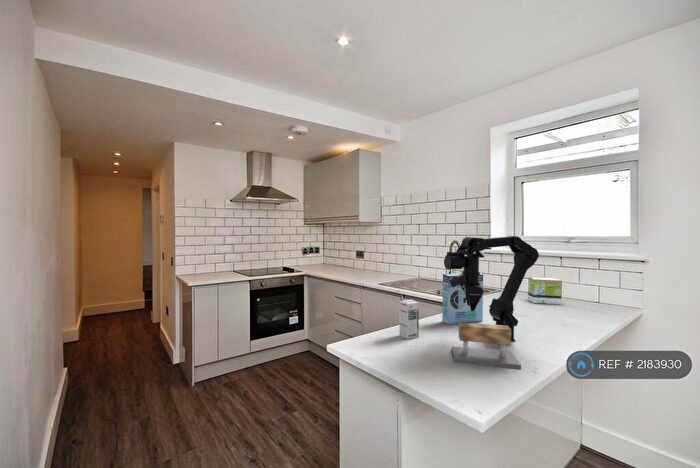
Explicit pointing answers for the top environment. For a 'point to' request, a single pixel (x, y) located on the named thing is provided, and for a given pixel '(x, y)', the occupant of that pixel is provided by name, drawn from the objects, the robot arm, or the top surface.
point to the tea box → (544, 290)
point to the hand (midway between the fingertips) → (470, 308)
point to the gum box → (459, 303)
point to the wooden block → (485, 333)
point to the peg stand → (485, 356)
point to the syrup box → (409, 319)
